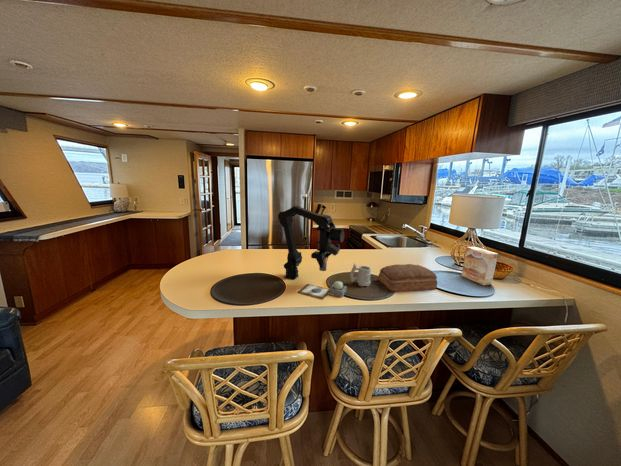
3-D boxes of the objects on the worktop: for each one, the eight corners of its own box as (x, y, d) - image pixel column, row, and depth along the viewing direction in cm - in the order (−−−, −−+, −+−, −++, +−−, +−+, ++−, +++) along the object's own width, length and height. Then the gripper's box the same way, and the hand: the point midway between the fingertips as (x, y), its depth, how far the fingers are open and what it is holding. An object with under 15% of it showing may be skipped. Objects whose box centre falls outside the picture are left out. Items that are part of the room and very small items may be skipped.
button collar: (329, 293, 124) (329, 288, 124) (333, 288, 130) (334, 283, 130) (342, 297, 121) (342, 291, 121) (346, 291, 127) (346, 286, 127)
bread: (376, 279, 145) (378, 261, 143) (420, 277, 151) (422, 260, 148) (390, 292, 129) (393, 272, 127) (439, 290, 135) (442, 270, 132)
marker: (317, 270, 131) (318, 257, 130) (320, 267, 135) (321, 255, 133) (324, 271, 129) (325, 259, 128) (327, 269, 133) (328, 257, 131)
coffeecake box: (460, 275, 156) (466, 246, 152) (469, 274, 158) (474, 246, 154) (483, 285, 142) (490, 253, 138) (492, 284, 145) (498, 253, 140)
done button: (332, 290, 125) (333, 283, 124) (335, 287, 128) (336, 280, 128) (340, 292, 123) (341, 285, 122) (343, 289, 127) (343, 282, 126)
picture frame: (297, 292, 124) (297, 291, 124) (307, 284, 134) (307, 283, 134) (322, 299, 118) (322, 297, 118) (331, 290, 128) (331, 289, 128)
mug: (371, 287, 134) (373, 267, 131) (349, 286, 134) (351, 265, 132) (368, 281, 141) (370, 262, 139) (348, 280, 142) (350, 261, 139)
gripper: (331, 245, 117) (330, 275, 120) (344, 237, 133) (342, 264, 136) (311, 242, 121) (310, 271, 125) (325, 235, 138) (324, 261, 141)
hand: (322, 267), depth 132 cm, fingers closed on marker, 4 cm apart
